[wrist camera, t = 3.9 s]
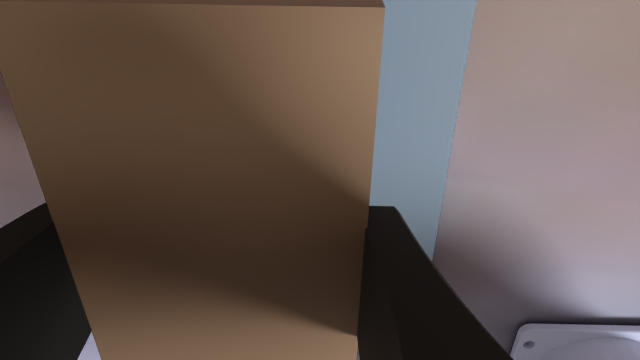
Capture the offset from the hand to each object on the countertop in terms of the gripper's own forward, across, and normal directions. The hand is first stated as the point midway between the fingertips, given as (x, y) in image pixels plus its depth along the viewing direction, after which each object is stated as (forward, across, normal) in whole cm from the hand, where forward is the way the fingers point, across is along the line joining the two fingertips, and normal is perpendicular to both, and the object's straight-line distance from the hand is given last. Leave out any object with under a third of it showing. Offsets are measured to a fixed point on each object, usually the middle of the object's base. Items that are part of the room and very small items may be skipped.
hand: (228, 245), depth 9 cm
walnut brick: (+3, 0, 0) cm, 3 cm away
